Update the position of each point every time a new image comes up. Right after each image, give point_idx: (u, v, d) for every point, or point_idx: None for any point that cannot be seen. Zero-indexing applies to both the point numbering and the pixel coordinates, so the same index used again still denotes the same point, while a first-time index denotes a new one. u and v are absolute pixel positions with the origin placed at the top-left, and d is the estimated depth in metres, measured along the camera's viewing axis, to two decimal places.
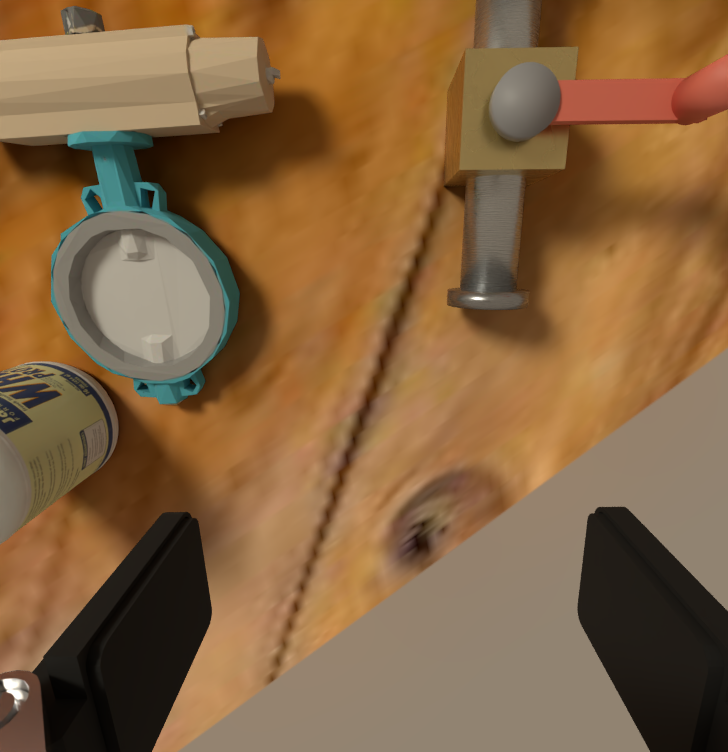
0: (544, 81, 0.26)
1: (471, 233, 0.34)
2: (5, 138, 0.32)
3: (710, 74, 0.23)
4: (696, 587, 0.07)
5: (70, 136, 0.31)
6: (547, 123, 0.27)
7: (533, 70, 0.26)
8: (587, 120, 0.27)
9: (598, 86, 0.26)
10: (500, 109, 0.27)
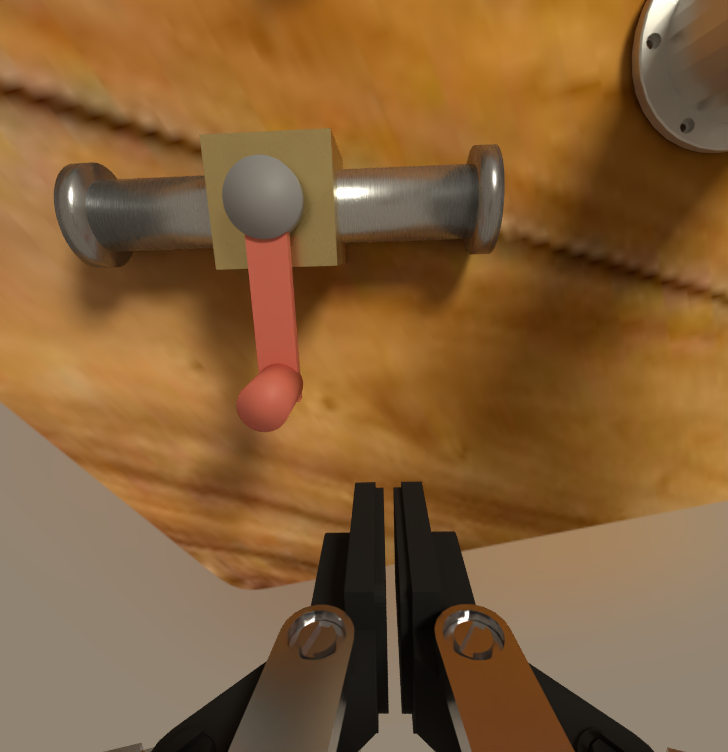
0: (282, 217, 0.22)
1: (159, 181, 0.27)
2: None
3: (267, 379, 0.22)
4: (427, 542, 0.09)
5: None
6: (239, 227, 0.23)
7: (292, 201, 0.22)
8: (249, 276, 0.24)
9: (283, 282, 0.24)
10: (248, 165, 0.22)
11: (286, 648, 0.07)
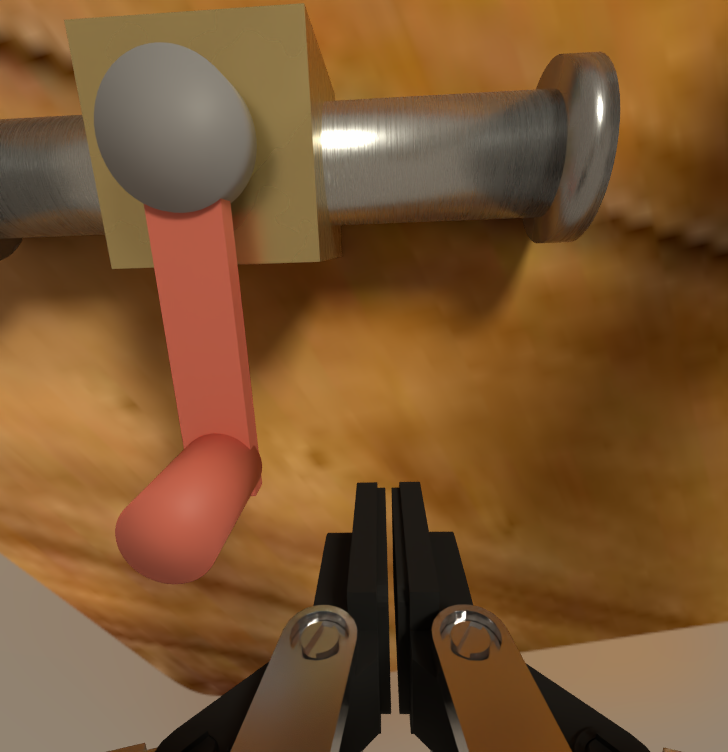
0: (209, 169, 0.12)
1: (30, 121, 0.16)
2: None
3: (177, 483, 0.11)
4: (425, 542, 0.09)
5: None
6: (131, 190, 0.12)
7: (227, 138, 0.12)
8: (158, 281, 0.13)
9: (220, 293, 0.13)
10: (140, 64, 0.11)
11: (289, 649, 0.07)
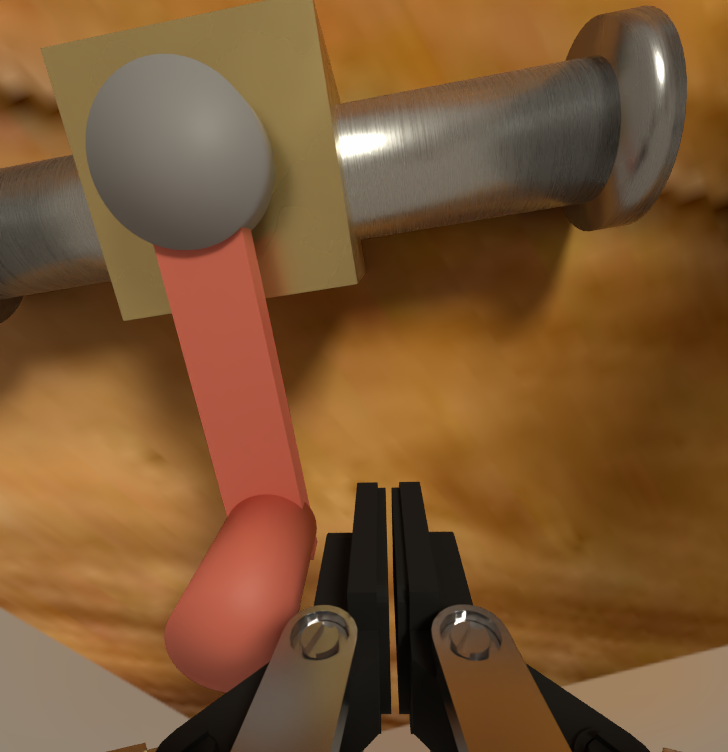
0: (226, 195, 0.10)
1: (16, 169, 0.15)
2: None
3: (231, 572, 0.09)
4: (424, 542, 0.09)
5: None
6: (138, 230, 0.10)
7: (243, 156, 0.10)
8: (178, 331, 0.11)
9: (251, 336, 0.11)
10: (133, 84, 0.09)
11: (289, 649, 0.07)
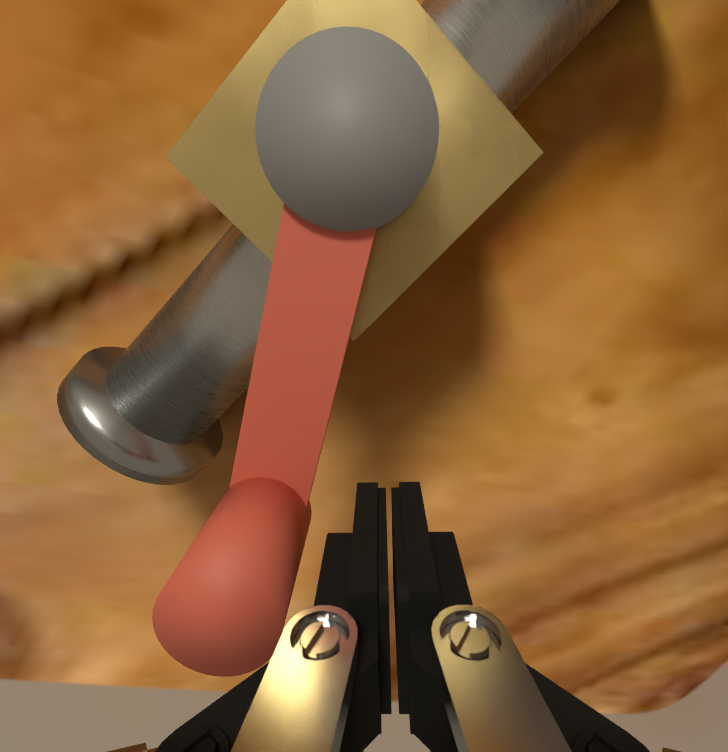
0: (379, 191, 0.10)
1: (174, 298, 0.16)
2: None
3: (247, 556, 0.09)
4: (424, 542, 0.09)
5: None
6: (277, 185, 0.10)
7: (412, 165, 0.10)
8: (267, 295, 0.11)
9: (335, 329, 0.11)
10: (341, 48, 0.09)
11: (290, 648, 0.07)
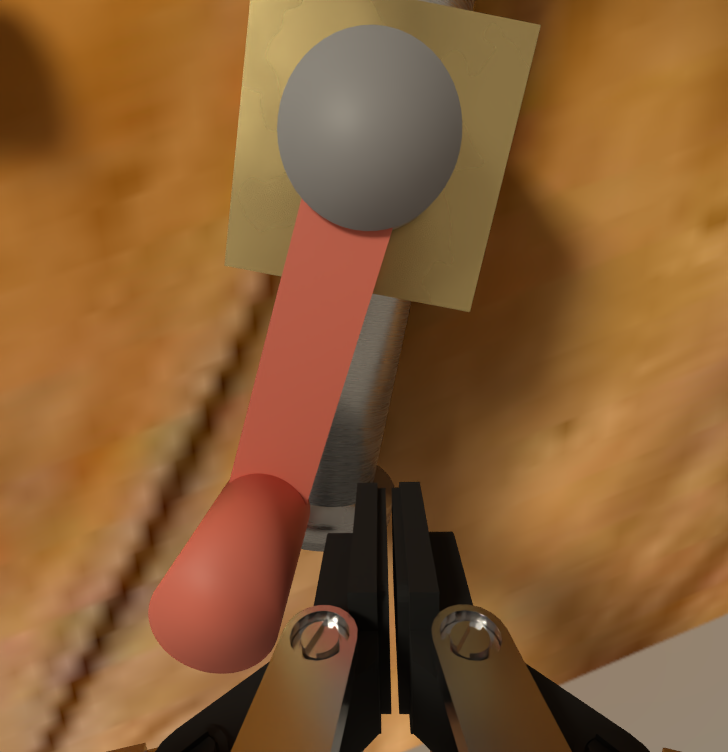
0: (398, 193, 0.10)
1: None
2: None
3: (247, 552, 0.09)
4: (424, 542, 0.09)
5: None
6: (296, 180, 0.10)
7: (433, 167, 0.10)
8: (279, 290, 0.11)
9: (346, 328, 0.11)
10: (369, 46, 0.09)
11: (289, 649, 0.07)
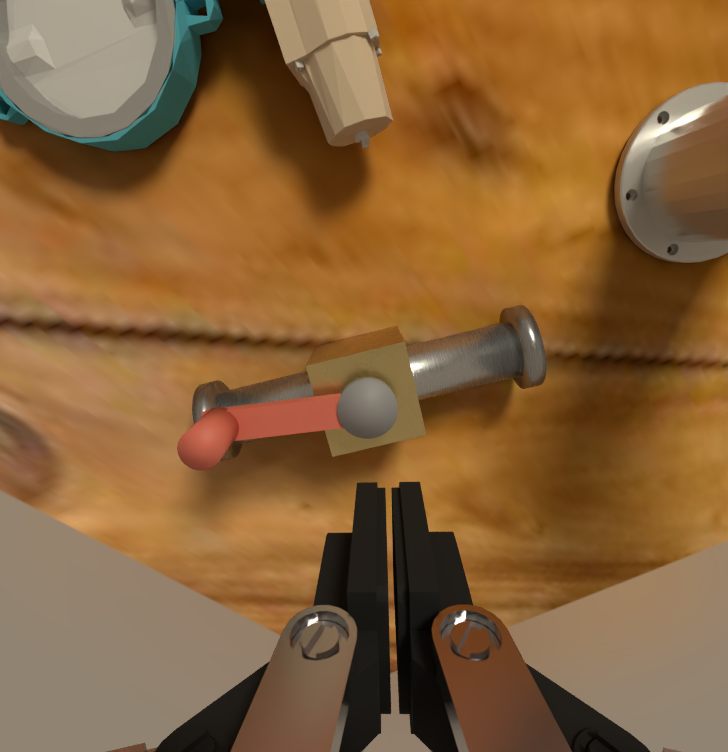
0: (355, 426, 0.29)
1: (267, 389, 0.34)
2: None
3: (224, 447, 0.26)
4: (424, 542, 0.09)
5: None
6: (344, 394, 0.29)
7: (366, 432, 0.29)
8: (307, 401, 0.29)
9: (305, 427, 0.29)
10: (389, 400, 0.29)
11: (289, 648, 0.07)
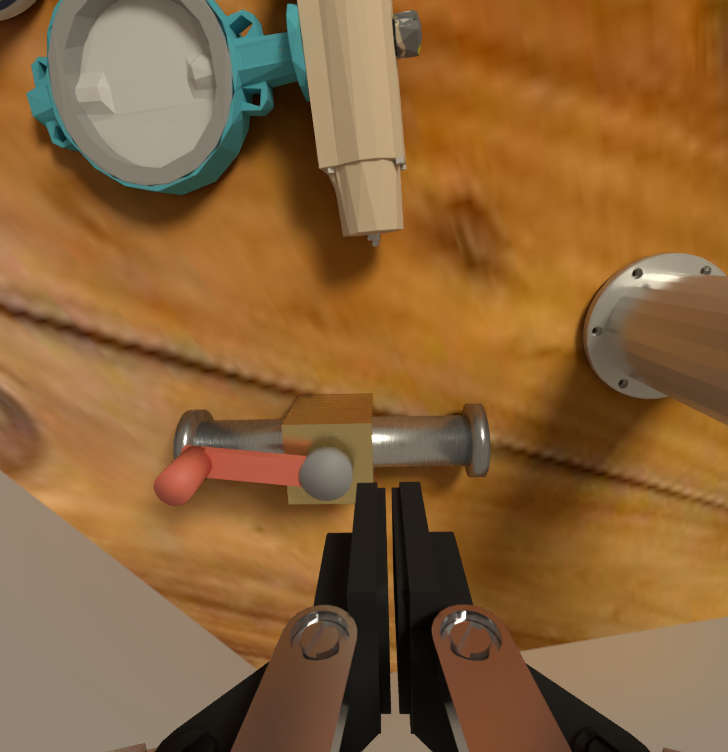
0: (312, 487, 0.33)
1: (245, 430, 0.38)
2: None
3: (195, 489, 0.30)
4: (425, 542, 0.09)
5: (295, 10, 0.28)
6: (308, 460, 0.33)
7: (321, 495, 0.34)
8: (275, 458, 0.33)
9: (269, 479, 0.34)
10: (346, 473, 0.33)
11: (289, 648, 0.07)
